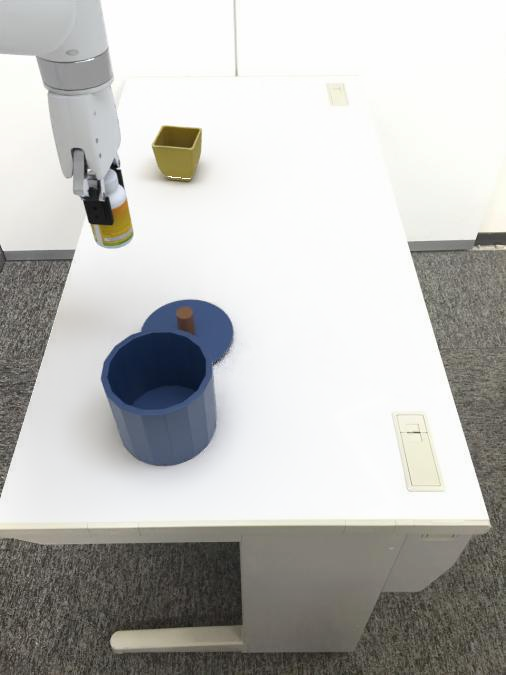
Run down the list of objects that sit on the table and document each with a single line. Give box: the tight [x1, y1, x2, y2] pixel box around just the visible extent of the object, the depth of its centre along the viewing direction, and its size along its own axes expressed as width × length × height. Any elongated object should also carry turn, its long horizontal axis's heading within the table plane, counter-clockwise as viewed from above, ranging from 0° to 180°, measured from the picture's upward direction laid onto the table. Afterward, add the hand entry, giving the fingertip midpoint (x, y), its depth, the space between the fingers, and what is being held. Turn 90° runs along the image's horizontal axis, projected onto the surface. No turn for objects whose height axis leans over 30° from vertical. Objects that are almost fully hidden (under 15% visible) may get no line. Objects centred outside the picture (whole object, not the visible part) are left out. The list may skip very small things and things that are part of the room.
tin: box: [100, 328, 217, 467], centre depth 71 cm, size 14×14×12 cm
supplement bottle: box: [87, 169, 135, 250], centre depth 70 cm, size 5×5×10 cm
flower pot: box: [151, 124, 203, 182], centre depth 113 cm, size 9×9×9 cm
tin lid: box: [140, 298, 234, 364], centre depth 84 cm, size 15×15×6 cm
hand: (107, 208), depth 70 cm, fingers closed on supplement bottle, 5 cm apart
